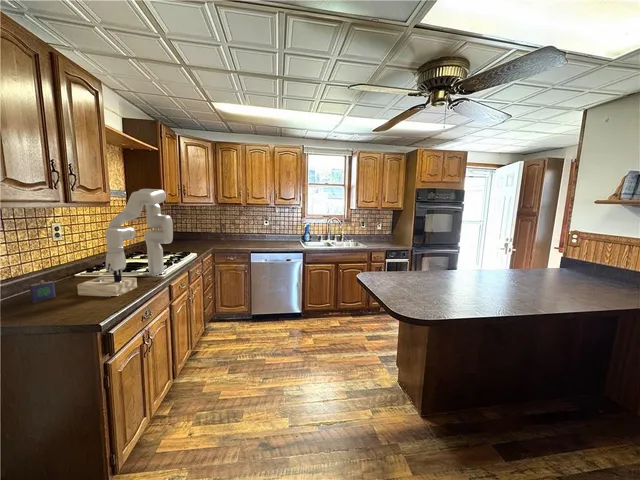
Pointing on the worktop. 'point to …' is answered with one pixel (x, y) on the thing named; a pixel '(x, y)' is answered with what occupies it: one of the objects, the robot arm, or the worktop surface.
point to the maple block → (106, 286)
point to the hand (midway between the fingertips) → (118, 281)
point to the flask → (42, 291)
